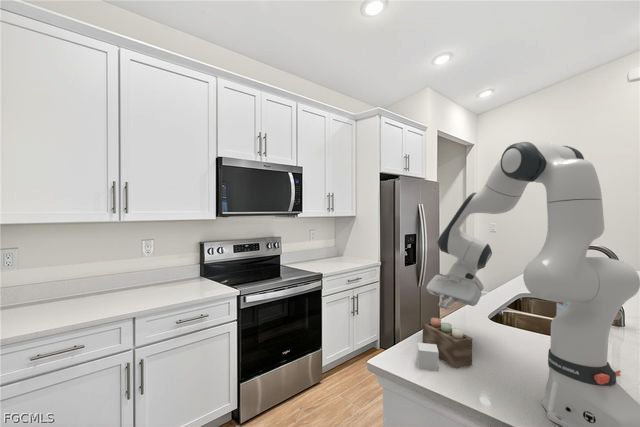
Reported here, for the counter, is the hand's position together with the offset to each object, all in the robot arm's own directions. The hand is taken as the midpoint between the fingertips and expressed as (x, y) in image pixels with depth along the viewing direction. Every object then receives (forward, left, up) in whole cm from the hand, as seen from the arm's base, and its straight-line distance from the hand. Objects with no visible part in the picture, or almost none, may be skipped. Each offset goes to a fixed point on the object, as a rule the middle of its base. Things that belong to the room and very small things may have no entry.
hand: (442, 307), depth 116 cm
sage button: (-6, +3, -6) cm, 9 cm away
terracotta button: (-1, +3, -6) cm, 7 cm away
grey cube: (-9, +14, -15) cm, 22 cm away
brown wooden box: (-6, +3, -15) cm, 16 cm away
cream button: (-11, +3, -6) cm, 13 cm away
